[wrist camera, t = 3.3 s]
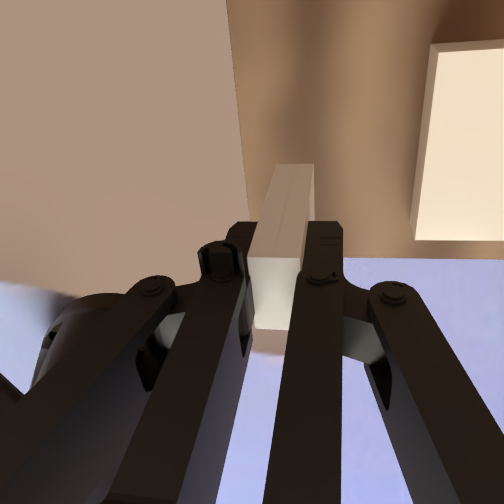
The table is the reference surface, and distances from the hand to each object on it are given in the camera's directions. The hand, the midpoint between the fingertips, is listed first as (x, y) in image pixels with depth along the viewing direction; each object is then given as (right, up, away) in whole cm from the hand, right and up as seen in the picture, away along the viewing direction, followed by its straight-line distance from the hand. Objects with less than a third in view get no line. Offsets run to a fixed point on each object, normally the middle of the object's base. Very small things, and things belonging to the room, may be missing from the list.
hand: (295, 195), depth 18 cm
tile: (+9, +3, +3) cm, 11 cm away
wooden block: (+8, +5, +7) cm, 12 cm away
